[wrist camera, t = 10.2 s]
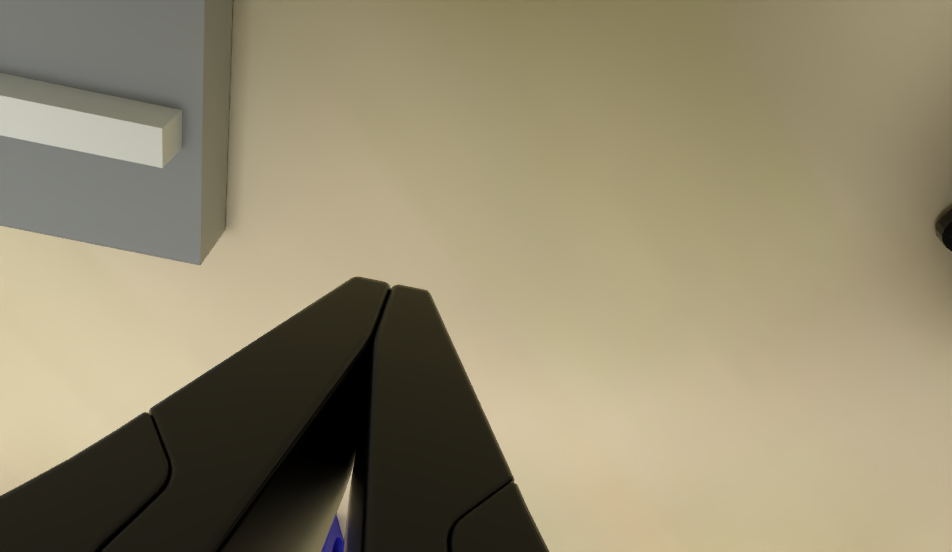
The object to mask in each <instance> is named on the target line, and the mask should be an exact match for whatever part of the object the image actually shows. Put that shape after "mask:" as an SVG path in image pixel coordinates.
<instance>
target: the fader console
mask: <svg viewBox="0 0 952 552" xmlns="http://www.w3.org/2000/svg"><path fill="white" fill-rule="evenodd" d="M232 11H233V0H0V226H5V227H10V228H15V229H20V230H25V231H30V232H35V233H40V234H45V235H51V236H56V237H61V238H66V239H71V240H76V241H81V242H86V243H91V244H96V245H101V246H106V247H111V248H116V249H121V250H126V251H131V252H136V253H141V254H146V255H151V256H156V257H161V258H166V259H171V260H176V261H181V262H186V263H191V264H196V265H201V264H202V262H203V261H204V259H205V258H206V256H207V255H208V254H209V252H210V251H211V249H212V248H213V246H214V245H215V244H216V242H217V241H218V239H219V238H220V237H221V235H222V234H223V232H224V231H225V217H226V188H227V158H228V129H229V99H230V70H231V40H232Z"/></svg>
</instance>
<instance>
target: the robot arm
mask: <svg viewBox="0 0 952 552" xmlns="http://www.w3.org/2000/svg"><path fill="white" fill-rule="evenodd" d="M936 235H937V236H938V238H939V239H940V240H941V241H942V243H943V244H944V245H945V246H946V247H947V248H948V249H949V250H950V251H952V209H951V210H950V211H949V212H948V213H947V214H945V215H944V216H943V217H942V218H941V220H940V221H939V222H938V224H937V227H936ZM353 464H354V467H353ZM352 468H353V473H352V480H351V487H350V495H349V504H348V513H347V523H346V532H345V542H344V551H343V552H549V550H548V548H547V546H546V544H545V542H544V540H543V538H542V536H541V534H540V532H539V530H538V528H537V526H536V524H535V522H534V520H533V518H532V516H531V514H530V512H529V510H528V508H527V506H526V503H525V501H524V499H523V497H522V494H521V492H520V490H519V488H518V486H517V484H515V483H514V477H513V475H512V473H511V471H510V469H509V466H508V464H507V462H506V460H505V458H504V455H503V453H502V451H501V449H500V447H499V444H498V442H497V440H496V438H495V435H494V433H493V431H492V429H491V427H490V424H489V422H488V420H487V418H486V416H485V413H484V411H483V409H482V407H481V405H480V402H479V400H478V398H477V396H476V394H475V391H474V389H473V387H472V385H471V383H470V380H469V378H468V376H467V374H466V372H465V369H464V367H463V365H462V363H461V360H460V358H459V356H458V354H457V352H456V349H455V347H454V345H453V343H452V341H451V338H450V336H449V334H448V332H447V330H446V327H445V325H444V323H443V321H442V319H441V316H440V314H439V312H438V310H437V308H436V305H435V303H434V301H433V299H432V297H431V295H430V293H429V292H428V291H427V290H424V289H418V288H413V287H408V286H403V285H395V286H393V287H392V288H390V285H389V284H388V283H386V282H383V281H378V280H373V279H368V278H363V277H353V278H351V279H350V280H348V281H346V282H345V283H343V284H342V285H340V286H339V287H337V288H336V289H334V290H333V291H331V292H329V293H328V294H326V295H325V296H323V297H322V298H320V299H319V300H317V301H316V302H314V303H312V304H311V305H309V306H308V307H306V308H305V309H303V310H302V311H300V312H299V313H297V314H295V315H294V316H292V317H291V318H289V319H288V320H286V321H285V322H283V323H282V324H280V325H278V326H277V327H275V328H274V329H272V330H271V331H269V332H268V333H266V334H265V335H263V336H261V337H260V338H258V339H257V340H255V341H254V342H252V343H251V344H249V345H248V346H246V347H245V348H243V349H241V350H240V351H238V352H237V353H235V354H234V355H232V356H231V357H229V358H228V359H226V360H224V361H223V362H221V363H220V364H218V365H217V366H215V367H214V368H212V369H211V370H209V371H207V372H206V373H204V374H203V375H201V376H200V377H198V378H197V379H195V380H194V381H192V382H190V383H189V384H187V385H186V386H184V387H183V388H181V389H180V390H178V391H177V392H175V393H173V394H172V395H170V396H169V397H167V398H166V399H164V400H163V401H161V402H160V403H158V404H156V405H155V406H153V407H152V408H151V409H150V410H149V413H146V412H145V413H142V414H140V415H139V416H137V417H136V418H134V419H133V420H131V421H130V422H128V423H127V424H125V425H123V426H122V427H120V428H119V429H117V430H116V431H114V432H112V433H111V434H109V435H108V436H106V437H104V438H103V439H101V440H99V441H98V442H96V443H94V444H93V445H91V446H89V447H88V448H86V449H85V450H83V451H81V452H80V453H78V454H76V455H75V456H73V457H71V458H70V459H68V460H66V461H64V462H62V463H61V464H59V465H57V466H55V467H53V468H51V469H50V470H48V471H46V472H44V473H42V474H40V475H38V476H37V477H35V478H33V479H31V480H29V481H27V482H26V483H24V484H22V485H20V486H18V487H16V488H15V489H13V490H11V491H9V492H7V493H5V494H3V495H1V496H0V552H321V551H322V548H323V546H324V543H325V541H326V538H327V535H328V533H329V530H330V528H331V525H332V523H333V520H334V518H335V515H336V513H337V510H338V508H339V505H340V502H341V500H342V497H343V495H344V492H345V489H346V486H347V484H348V481H349V478H350V475H351V471H352Z"/></svg>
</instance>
